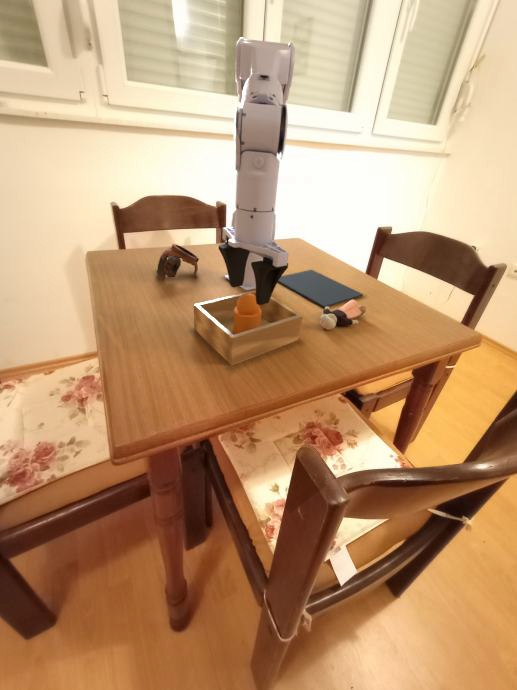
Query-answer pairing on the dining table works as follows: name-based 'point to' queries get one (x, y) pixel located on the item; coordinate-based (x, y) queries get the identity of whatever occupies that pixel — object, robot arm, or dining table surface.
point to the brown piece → (175, 261)
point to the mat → (318, 288)
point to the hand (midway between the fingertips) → (249, 294)
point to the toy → (246, 314)
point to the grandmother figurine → (342, 315)
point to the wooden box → (218, 331)
